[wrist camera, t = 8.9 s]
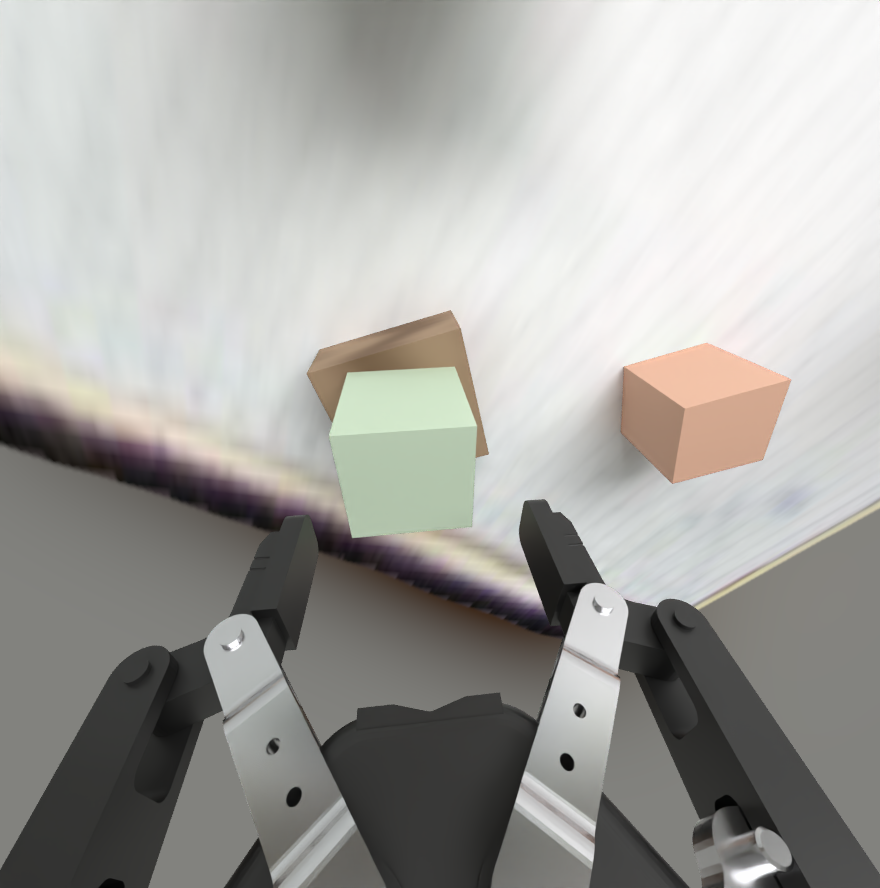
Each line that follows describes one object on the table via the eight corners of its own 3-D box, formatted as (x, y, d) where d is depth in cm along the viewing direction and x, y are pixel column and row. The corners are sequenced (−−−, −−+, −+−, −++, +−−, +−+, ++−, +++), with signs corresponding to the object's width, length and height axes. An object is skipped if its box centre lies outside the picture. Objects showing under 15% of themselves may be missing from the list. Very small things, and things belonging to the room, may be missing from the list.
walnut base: (449, 308, 20) (460, 328, 17) (476, 421, 25) (488, 454, 22) (320, 347, 21) (306, 373, 17) (369, 451, 25) (366, 487, 22)
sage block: (454, 366, 18) (477, 425, 13) (453, 452, 21) (471, 526, 16) (347, 372, 18) (328, 436, 13) (362, 459, 21) (352, 538, 16)
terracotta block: (706, 342, 23) (791, 379, 18) (693, 412, 26) (762, 459, 21) (623, 366, 23) (685, 408, 18) (620, 432, 26) (672, 483, 21)
